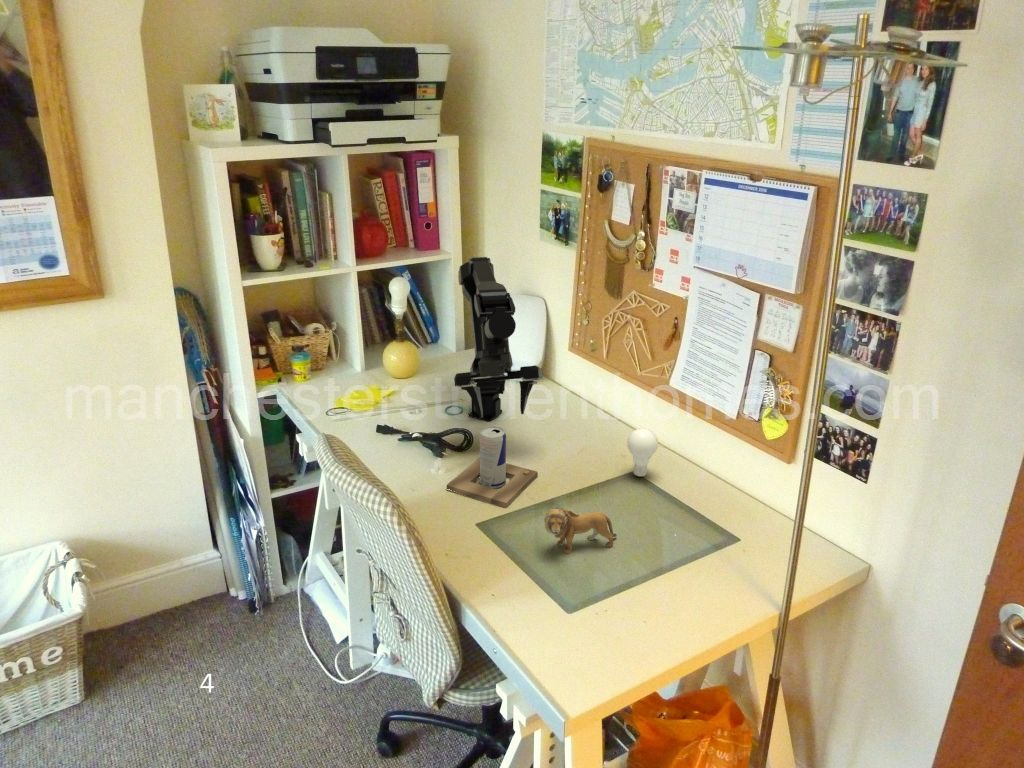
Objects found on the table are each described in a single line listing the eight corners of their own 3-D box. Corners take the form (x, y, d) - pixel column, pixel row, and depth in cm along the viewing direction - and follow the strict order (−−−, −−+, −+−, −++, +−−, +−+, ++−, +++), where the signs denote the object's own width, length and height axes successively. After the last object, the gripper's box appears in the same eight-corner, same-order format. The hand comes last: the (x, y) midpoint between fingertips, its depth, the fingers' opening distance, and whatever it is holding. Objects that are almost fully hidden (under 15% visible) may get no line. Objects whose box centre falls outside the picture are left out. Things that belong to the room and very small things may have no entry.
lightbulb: (654, 484, 159) (658, 438, 154) (623, 481, 160) (627, 435, 155) (655, 470, 164) (659, 424, 160) (625, 466, 165) (629, 421, 161)
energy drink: (510, 481, 159) (511, 430, 155) (496, 492, 155) (496, 440, 151) (489, 473, 162) (489, 423, 157) (475, 484, 158) (474, 433, 153)
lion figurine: (550, 562, 134) (551, 519, 130) (538, 546, 139) (539, 504, 135) (622, 545, 139) (626, 503, 135) (609, 529, 144) (612, 488, 140)
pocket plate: (446, 490, 156) (446, 483, 155) (480, 460, 167) (480, 454, 167) (506, 508, 150) (506, 501, 149) (537, 476, 161) (537, 470, 161)
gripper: (444, 346, 160) (450, 419, 159) (531, 336, 156) (537, 412, 155) (458, 350, 170) (464, 419, 169) (540, 341, 167) (546, 412, 166)
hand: (501, 416), depth 165 cm, fingers open, 9 cm apart
